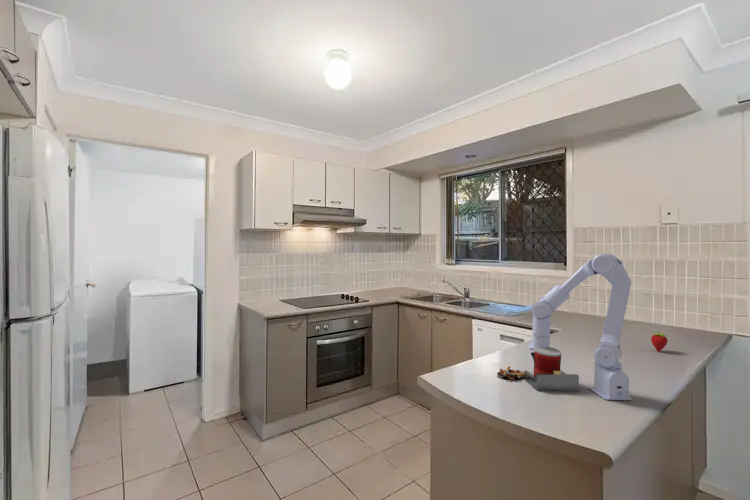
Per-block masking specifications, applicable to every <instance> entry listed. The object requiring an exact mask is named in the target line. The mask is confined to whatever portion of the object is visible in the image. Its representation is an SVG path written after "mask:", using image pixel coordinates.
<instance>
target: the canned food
mask: <svg viewBox="0 0 750 500" xmlns="http://www.w3.org/2000/svg"><path fill="white" fill-rule="evenodd" d="M534 352H535V358H534V360H533V376H535V374H553V370H559V371H560V370H561V364H562V363H561V362H562V352H561V350H559V349H558V348H555V347H552V346H551V347H550V346H549V347H548V348H540V347H536V348H535V351H534Z"/></svg>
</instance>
